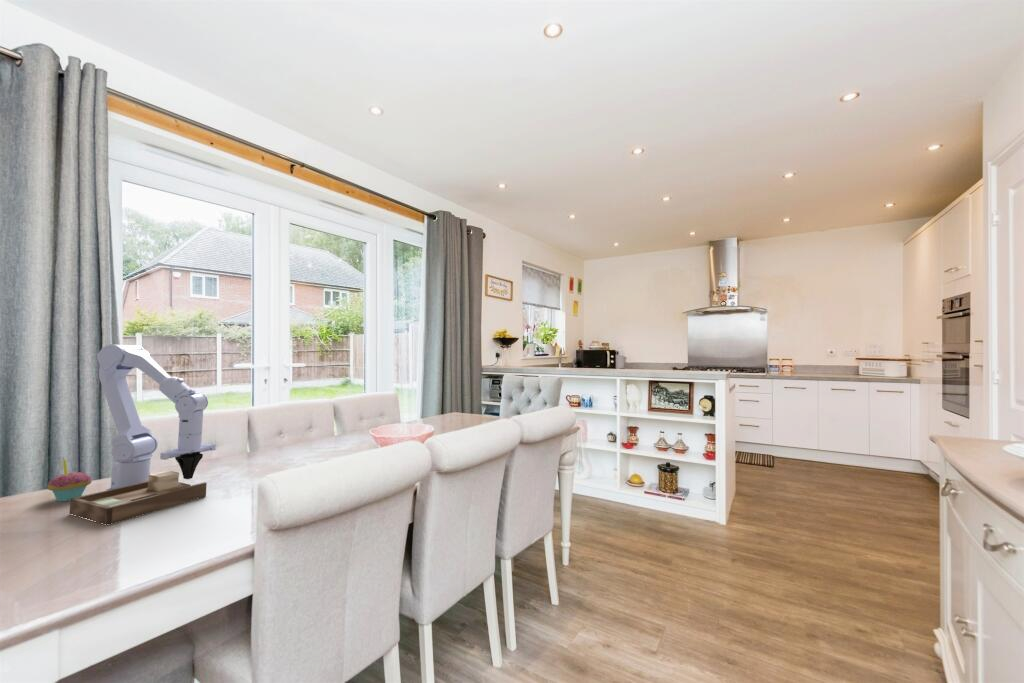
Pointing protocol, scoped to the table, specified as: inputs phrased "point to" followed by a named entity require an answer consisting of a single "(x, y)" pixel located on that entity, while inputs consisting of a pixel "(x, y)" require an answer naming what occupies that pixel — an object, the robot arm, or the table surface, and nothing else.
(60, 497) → the cupcake
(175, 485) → the birch block
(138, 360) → the robot arm
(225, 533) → the table surface
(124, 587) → the table surface
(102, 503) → the trap track
